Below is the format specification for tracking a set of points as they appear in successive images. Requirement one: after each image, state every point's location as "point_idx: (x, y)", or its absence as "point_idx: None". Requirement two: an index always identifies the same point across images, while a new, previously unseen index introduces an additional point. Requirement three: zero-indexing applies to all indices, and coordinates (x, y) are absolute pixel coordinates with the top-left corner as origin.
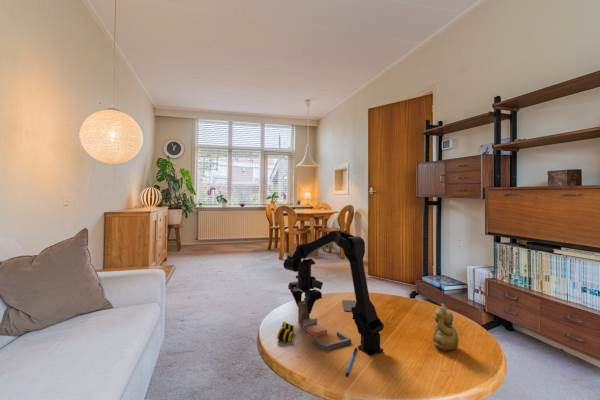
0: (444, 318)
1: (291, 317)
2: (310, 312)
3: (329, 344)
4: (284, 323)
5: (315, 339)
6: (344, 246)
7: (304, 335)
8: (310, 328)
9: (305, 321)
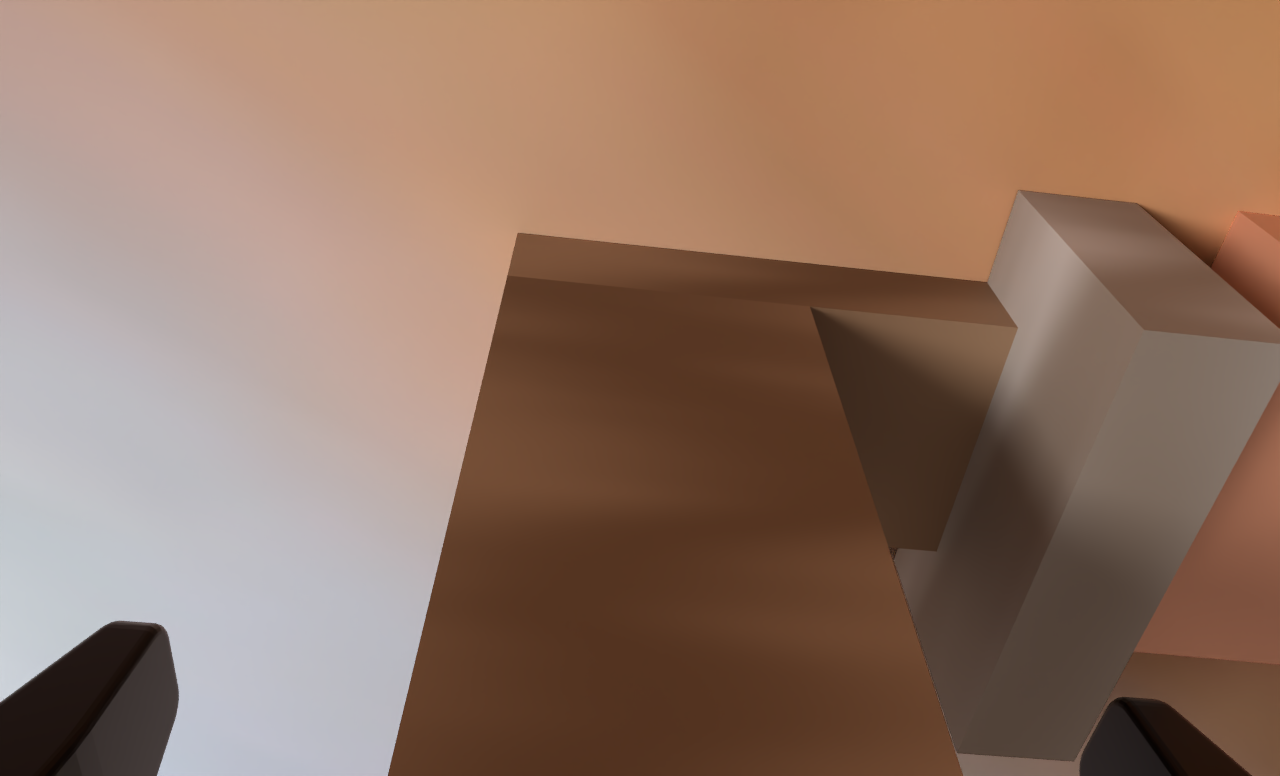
0: None
1: (36, 408)
2: (1186, 741)
3: None
4: None
5: None
6: None
7: (1188, 709)
8: (1259, 624)
9: (1073, 728)
